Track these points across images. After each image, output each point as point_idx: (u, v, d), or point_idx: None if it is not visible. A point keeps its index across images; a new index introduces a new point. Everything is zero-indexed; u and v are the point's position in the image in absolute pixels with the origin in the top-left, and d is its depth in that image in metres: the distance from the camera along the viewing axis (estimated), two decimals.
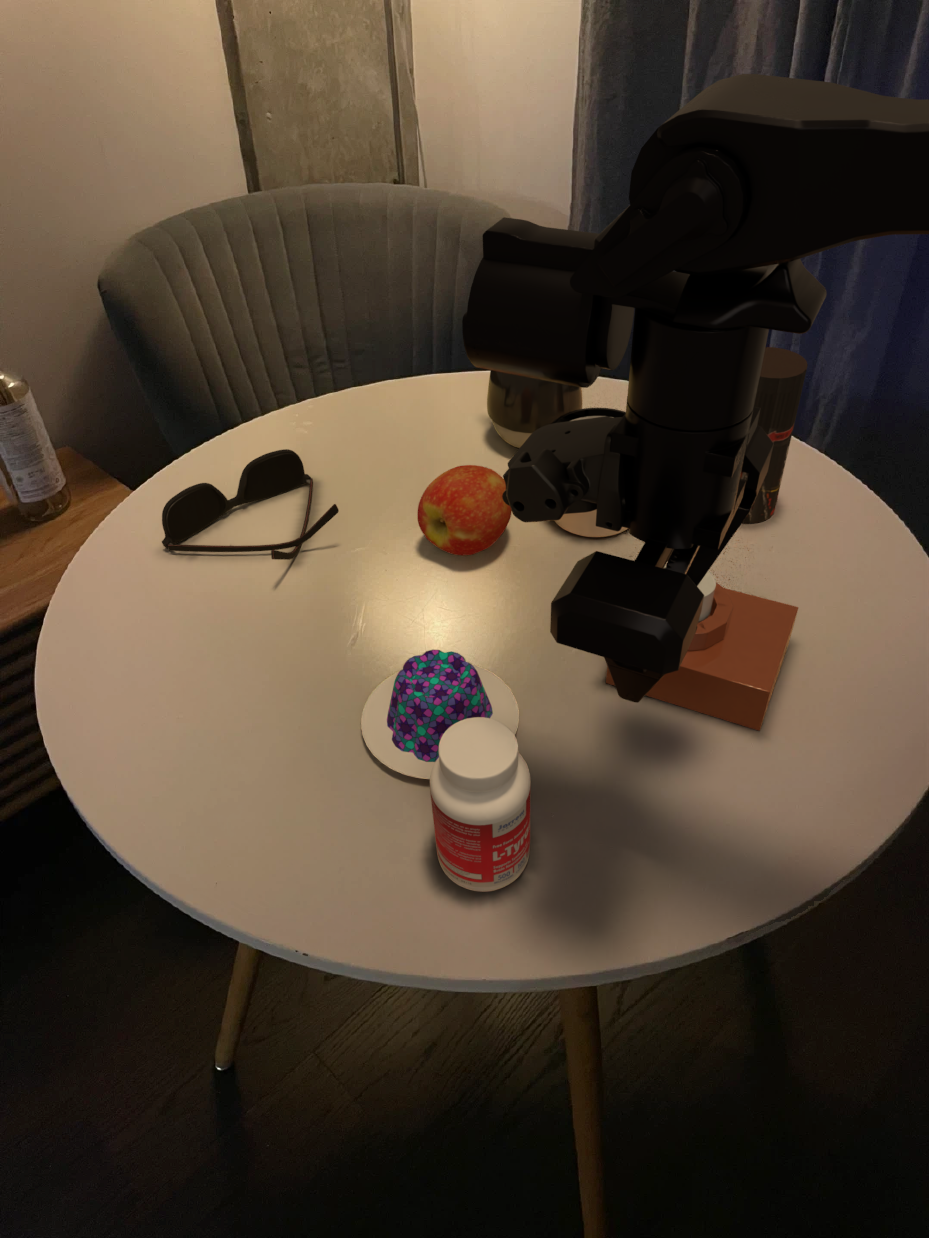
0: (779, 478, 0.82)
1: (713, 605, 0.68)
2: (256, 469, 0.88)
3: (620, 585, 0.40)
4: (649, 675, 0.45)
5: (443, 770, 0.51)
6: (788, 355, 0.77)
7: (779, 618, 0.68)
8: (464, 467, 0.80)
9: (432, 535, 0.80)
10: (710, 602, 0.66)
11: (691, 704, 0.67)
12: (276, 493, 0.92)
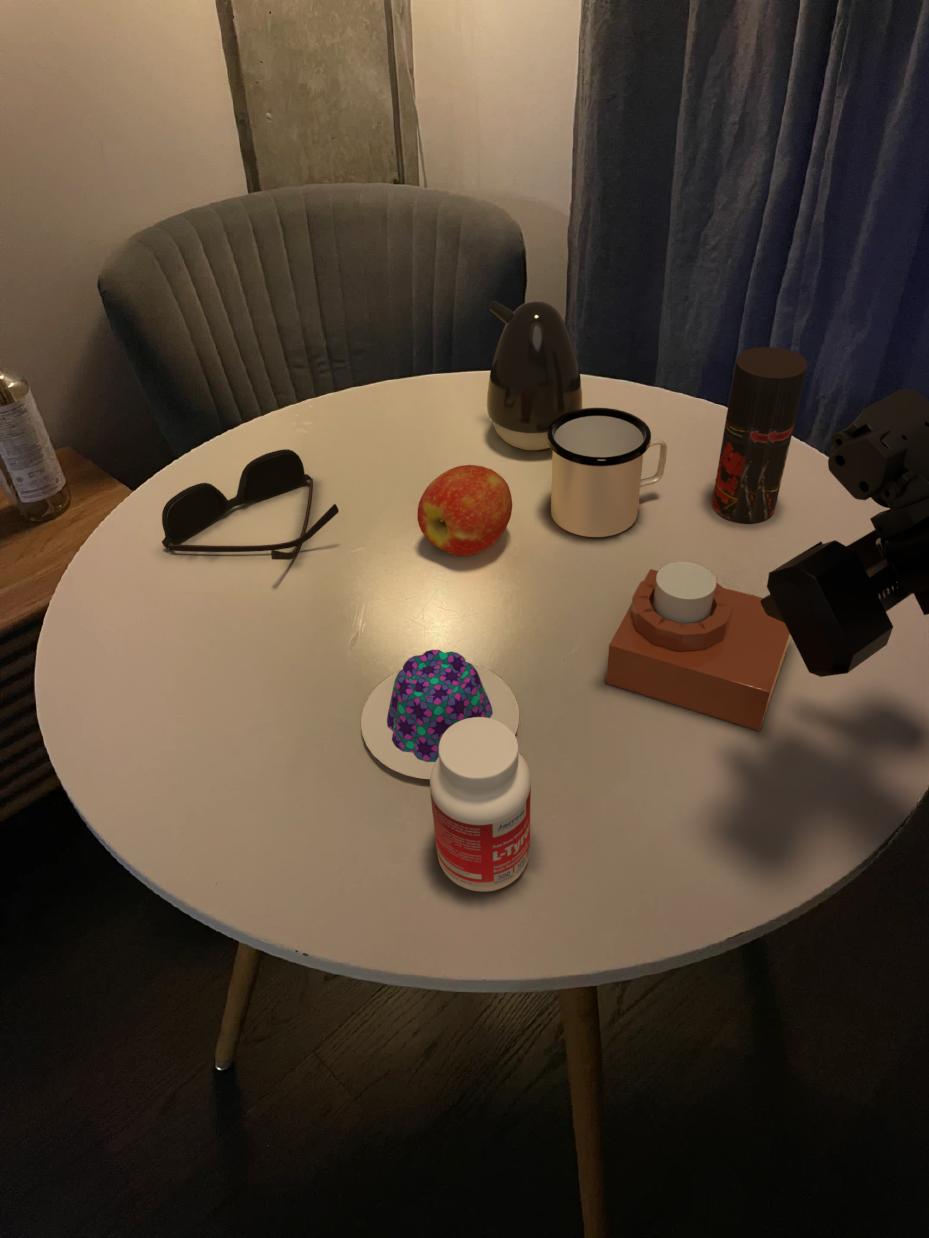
0: (779, 478, 0.82)
1: (713, 605, 0.68)
2: (256, 469, 0.88)
3: (848, 599, 0.45)
4: None
5: (443, 770, 0.51)
6: (788, 355, 0.77)
7: None
8: (464, 466, 0.80)
9: (432, 535, 0.80)
10: (710, 602, 0.66)
11: (691, 704, 0.67)
12: (276, 493, 0.92)
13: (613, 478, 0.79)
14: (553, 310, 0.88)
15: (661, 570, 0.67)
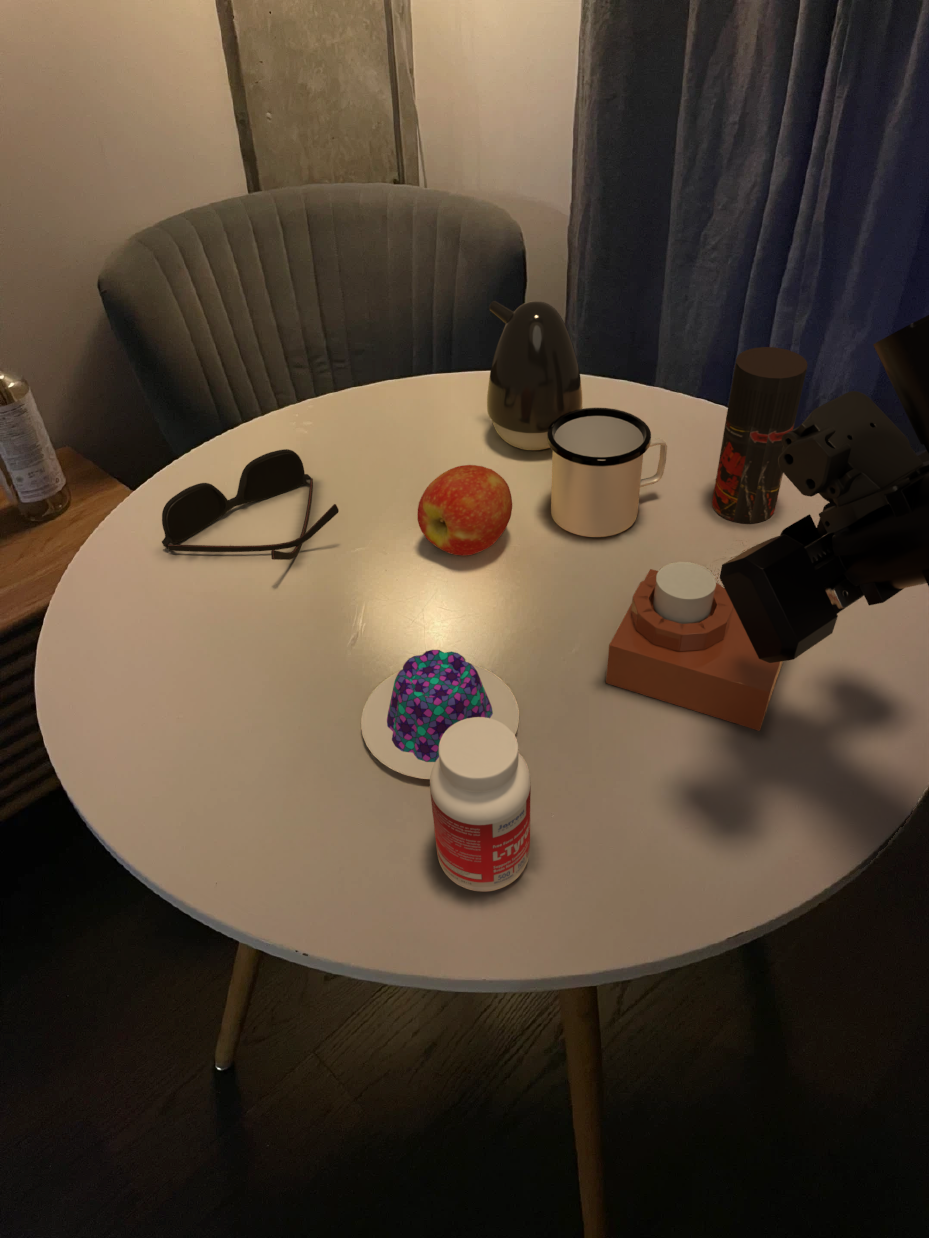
0: (779, 478, 0.82)
1: (713, 605, 0.68)
2: (256, 469, 0.88)
3: (795, 590, 0.48)
4: None
5: (443, 770, 0.51)
6: (788, 355, 0.77)
7: None
8: (464, 466, 0.80)
9: (432, 535, 0.80)
10: (710, 602, 0.66)
11: (691, 704, 0.67)
12: (276, 493, 0.92)
13: (613, 478, 0.79)
14: (553, 310, 0.88)
15: (661, 570, 0.67)
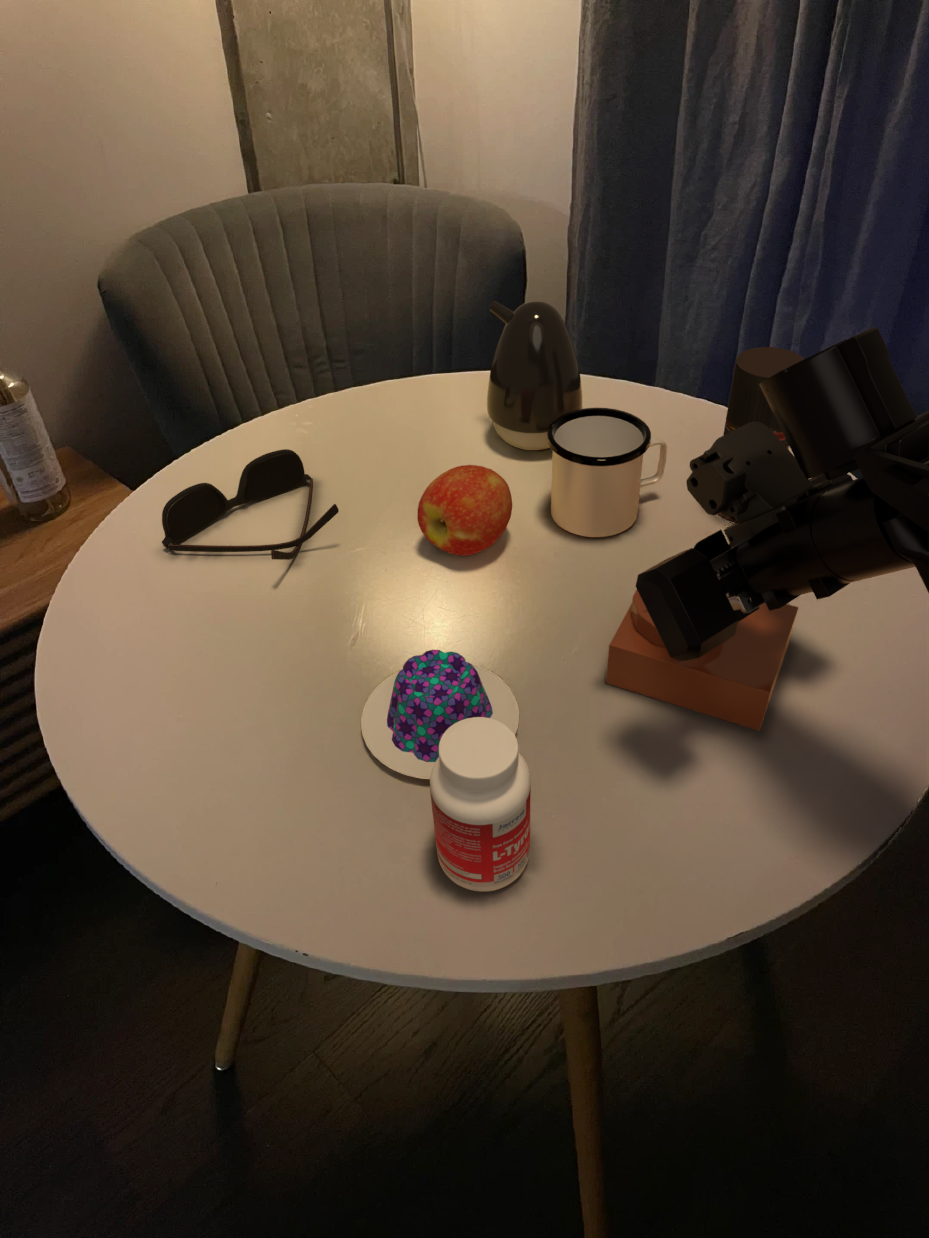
0: None
1: None
2: (256, 469, 0.88)
3: (699, 597, 0.54)
4: None
5: (443, 770, 0.51)
6: (788, 355, 0.77)
7: (779, 618, 0.68)
8: (464, 467, 0.80)
9: (432, 535, 0.80)
10: None
11: (691, 704, 0.67)
12: (276, 493, 0.92)
13: (613, 478, 0.79)
14: (553, 310, 0.88)
15: None
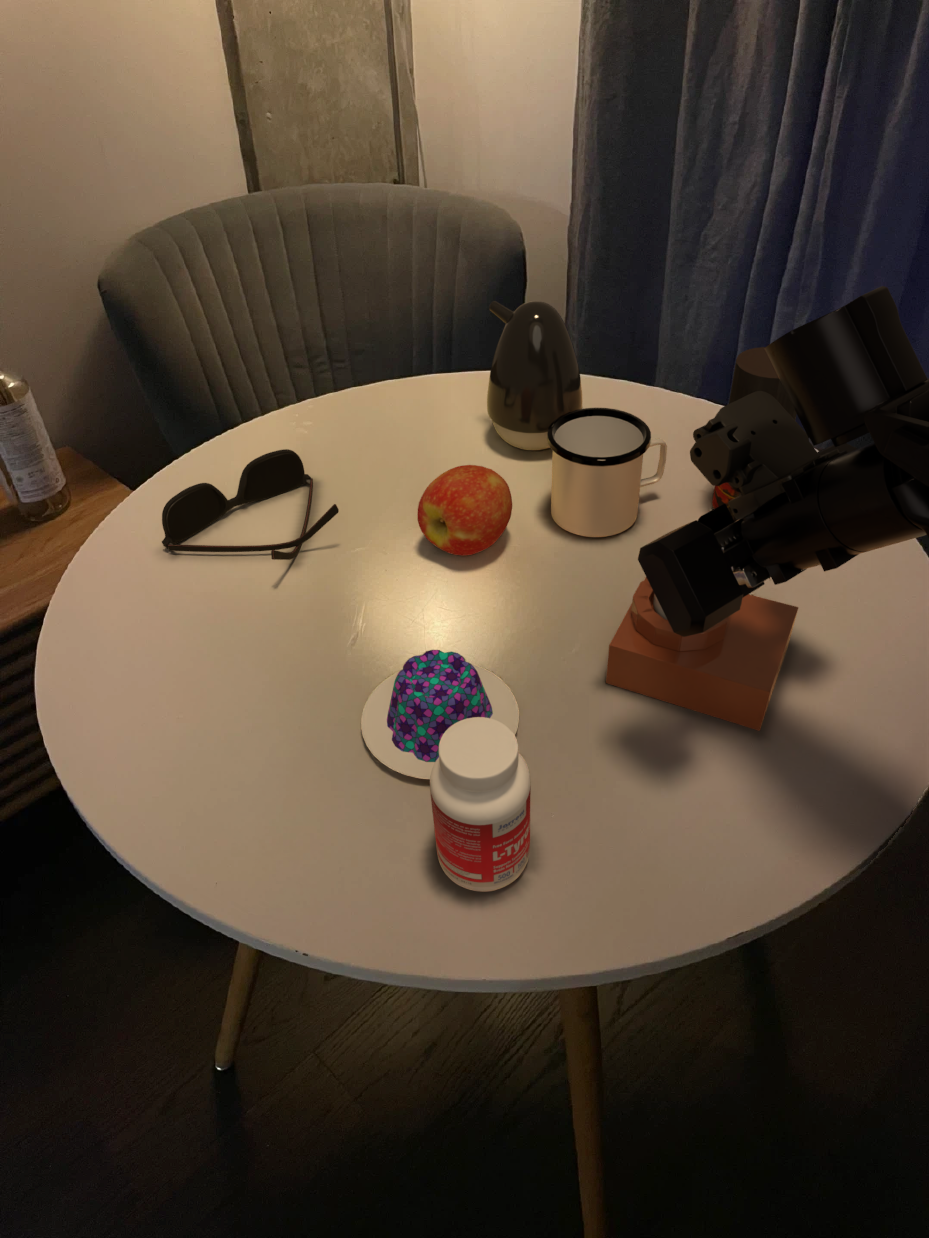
0: None
1: None
2: (256, 469, 0.88)
3: (703, 569, 0.53)
4: None
5: (443, 770, 0.51)
6: None
7: (779, 618, 0.68)
8: (464, 466, 0.80)
9: (432, 535, 0.80)
10: None
11: (691, 704, 0.67)
12: (276, 493, 0.92)
13: (613, 478, 0.79)
14: (553, 310, 0.88)
15: None
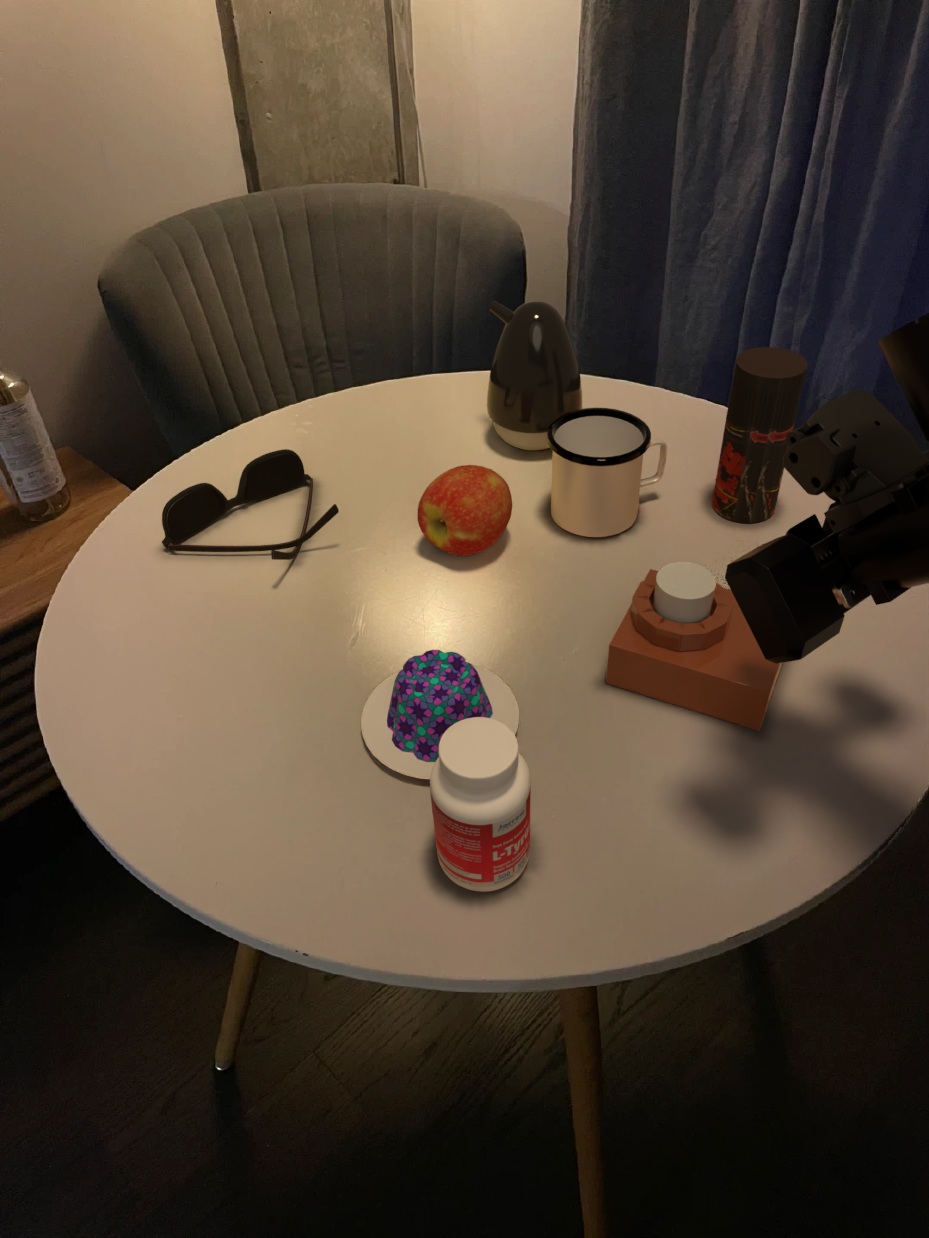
0: (779, 478, 0.82)
1: (713, 605, 0.68)
2: (256, 469, 0.88)
3: (801, 589, 0.47)
4: None
5: (443, 770, 0.51)
6: (788, 355, 0.77)
7: None
8: (464, 466, 0.80)
9: (432, 535, 0.80)
10: (710, 602, 0.66)
11: (691, 704, 0.67)
12: (276, 493, 0.92)
13: (613, 478, 0.79)
14: (553, 310, 0.88)
15: (661, 570, 0.67)
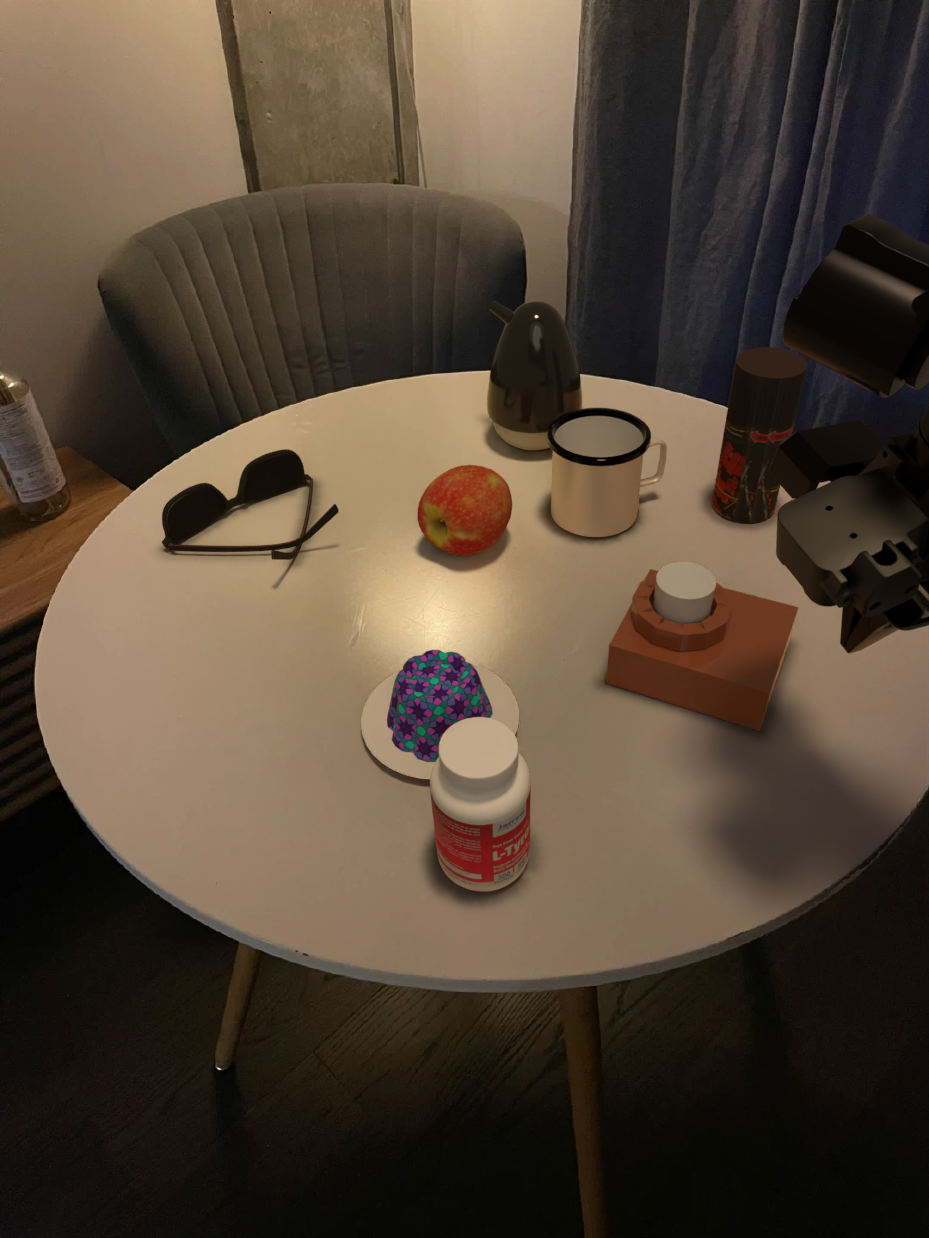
0: None
1: (713, 605, 0.68)
2: (256, 469, 0.88)
3: None
4: None
5: (443, 770, 0.51)
6: (788, 355, 0.77)
7: (779, 618, 0.68)
8: (464, 466, 0.80)
9: (432, 535, 0.80)
10: (710, 602, 0.66)
11: (691, 704, 0.67)
12: (276, 493, 0.92)
13: (613, 478, 0.79)
14: (553, 310, 0.88)
15: (661, 570, 0.67)
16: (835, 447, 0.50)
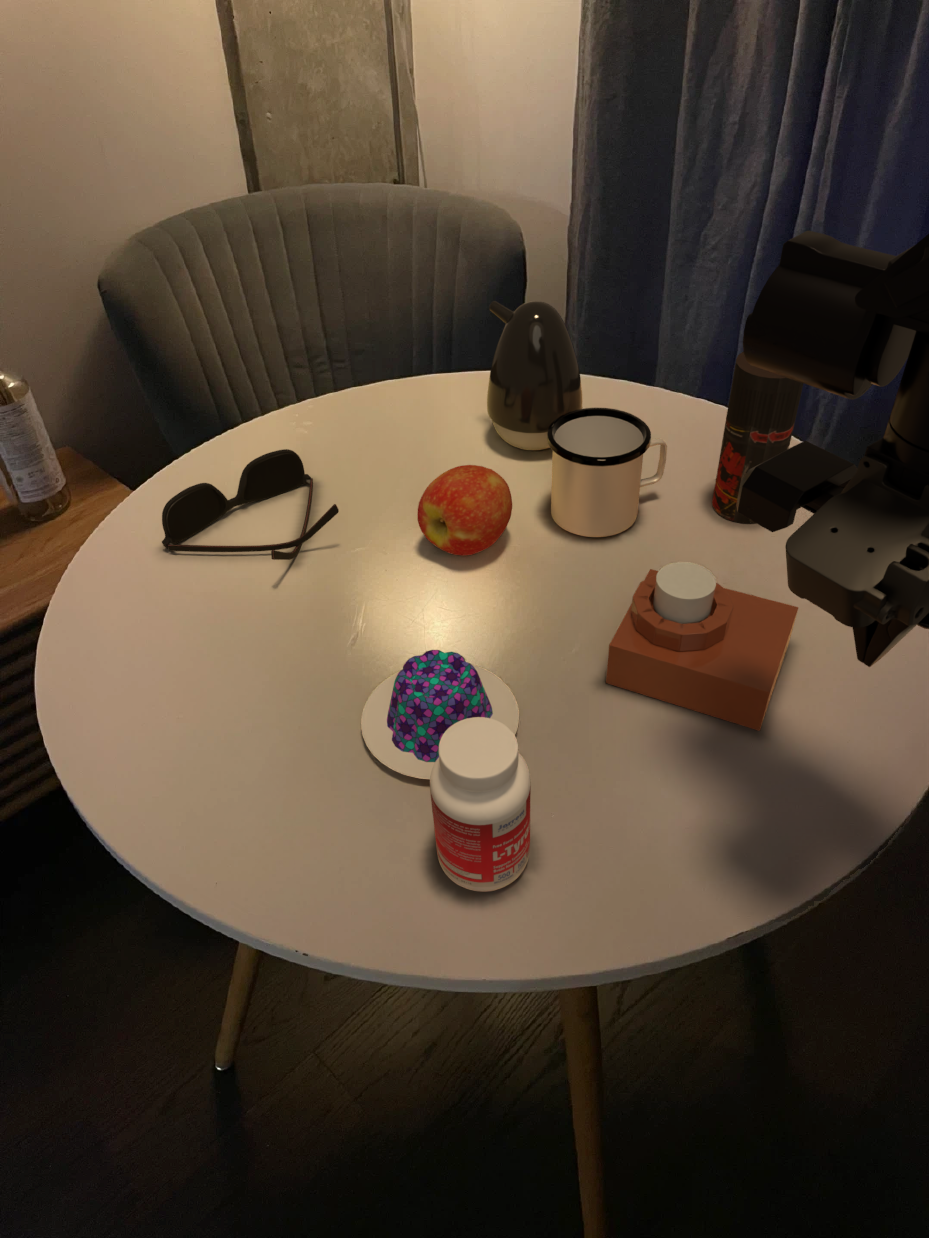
0: None
1: (713, 605, 0.68)
2: (256, 469, 0.88)
3: None
4: None
5: (443, 770, 0.51)
6: None
7: (779, 618, 0.68)
8: (464, 466, 0.80)
9: (432, 535, 0.80)
10: (710, 602, 0.66)
11: (691, 704, 0.67)
12: (276, 493, 0.92)
13: (613, 478, 0.79)
14: (553, 310, 0.88)
15: (661, 570, 0.67)
16: (797, 472, 0.50)
